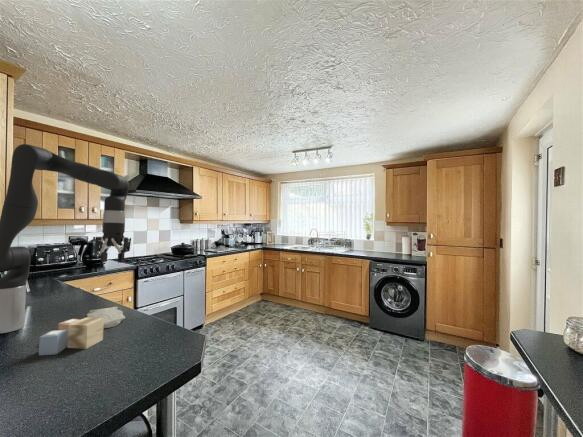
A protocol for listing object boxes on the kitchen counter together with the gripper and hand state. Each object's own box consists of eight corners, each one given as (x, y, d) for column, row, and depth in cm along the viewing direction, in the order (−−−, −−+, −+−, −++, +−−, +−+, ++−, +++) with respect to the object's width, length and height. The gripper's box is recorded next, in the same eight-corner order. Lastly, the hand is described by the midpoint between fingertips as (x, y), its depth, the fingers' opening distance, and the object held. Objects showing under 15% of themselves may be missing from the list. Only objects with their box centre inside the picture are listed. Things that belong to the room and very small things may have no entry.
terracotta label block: (57, 339, 93) (58, 322, 93) (72, 334, 98) (73, 318, 98) (67, 341, 92) (68, 324, 92) (82, 335, 97) (82, 319, 97)
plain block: (67, 347, 87) (68, 324, 87) (85, 338, 94) (86, 317, 94) (86, 348, 86) (87, 325, 87) (102, 339, 93) (103, 318, 94)
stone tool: (86, 317, 118) (89, 333, 99) (86, 308, 118) (89, 323, 99) (119, 311, 126) (127, 325, 108) (119, 303, 127) (128, 316, 108)
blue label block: (38, 355, 82) (39, 336, 82) (50, 348, 87) (51, 330, 87) (56, 354, 83) (57, 335, 83) (66, 347, 87) (67, 329, 88)
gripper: (89, 221, 100) (88, 263, 100) (124, 222, 100) (122, 264, 99) (104, 221, 108) (103, 260, 107) (136, 222, 107) (135, 261, 107)
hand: (112, 262), depth 103 cm, fingers open, 6 cm apart
